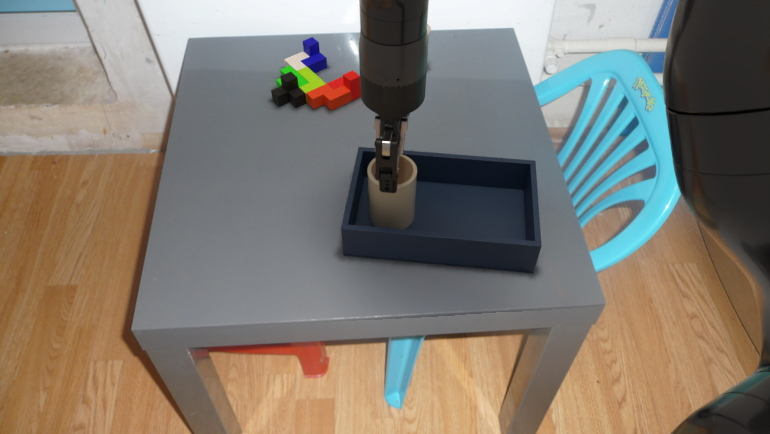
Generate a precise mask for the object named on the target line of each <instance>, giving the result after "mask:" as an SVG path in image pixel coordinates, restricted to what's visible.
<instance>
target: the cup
mask: <svg viewBox="0 0 770 434" xmlns="http://www.w3.org/2000/svg"><path fill="white" fill-rule="evenodd" d="M398 168H399V172H398V179H397V192H396V193H385V192H381V191H380V190H379V180H376V177H375V173H376V159H375V158H374V159H373V160H372V161H371V162H370V164H369V166H368V169H367V174H368V201H369V218H370V220H371V222H372V223H373V225H375V226H376V227H381V228H393V229H405V228H407V227H408V226H409V225H410V224H411V223H412V222H413V220H414V217H415V201H416V183H417V167H416V165H415V163H414V162H413V161H412V160H411V159H410V158H409V157H407V156H405V155H401V156H399V166H398Z"/></svg>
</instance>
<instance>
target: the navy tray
mask: <svg viewBox="0 0 770 434" xmlns="http://www.w3.org/2000/svg"><path fill="white" fill-rule="evenodd" d="M402 155H405V156H407V157H409V158H410V159H411V160H412V161H413V162H414V163H415V165H416V167H417V183H416V201H415V217H414V220H413V222H412V223H411V224H410V225H409V226H408V227H407V228H405V229H393V228H381V227H376V226H375V225H373V223H372V222H371V220H370V218H369V201H368V174H367V169H368V166H369V164H370V162H371V161H372V160H373V159H374V158H375V147H366V146H358V147H357V152H356V155H355V156H356V157H355V162H354V166H353V170H352V176H351V179H350V185H349V189H348V194H347V198H346V203H345V207H344V208H345V209H344V212H343V218H342V221H341V227H340V232H341V233H340V234H341V241H342V253H343V256H347V257H348V256H349V257H360V258H367V259H380V260H390V261H391V260H392V261H402V262H410V263H411V262H412V263H422V264H423V263H424V264H433V265H445V266H456V267H466V268H476V269H477V268H478V269H486V270H487V269H489V270H499V271H509V272H518V273H520V272H521V273H528V274H529V273H530V274H531V273H532V274H534V270H535V267H536V265H537V262H538V258H539V256H540V254H541V253H540V252H541V250H542V245H543V244H542V234H541V221H540V218H541V217H540V204H539V203H540V202H539V192H538V191H539V190H538V176H537V162H536V160H532V159H522V158H521V159H520V158H508V157H495V156H483V155H482V156H481V155H469V154H456V153H445V152H444V153H443V152H432V151H431V152H430V151H419V150H417V151H416V150H406V149H404V152H403V154H402Z"/></svg>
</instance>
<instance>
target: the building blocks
mask: <svg viewBox="0 0 770 434" xmlns="http://www.w3.org/2000/svg"><path fill="white" fill-rule="evenodd" d="M302 48H303V51H300V52H299V53H298V52H297V53H296V54H293V55H291V56H288V57H286V58H284V59H283V63H284V67H282V68H280V69H279V71H280V76H279V78H277V79H276V80H275V82H276V88H274V89H272V90H270V92H271V99H272V101H273V102H274V103H275V104H276V105H277V106H278V107H280V106H283V105H285V104H287V103H290V104H292V106H294V108H298V107H300V106H303V105H305V104H308V105H309V106H310V107H311V108H312V109H313V110H315V109H318V108H320V107H322V106H326V108H328V110H330V111H334V110H336V109H338V108H340V107H342V106H344V105H346V104H348V103H351V102H352V101H354V100H356V99H359V98H361V92H360V74H358V73H357V72H355V71H354V70H349V71H348V72H346V73H343V74H342V76H340V77H338V78H336V79H334V80H332V81H328V82H327V83H326V82H325V81H324V80H323V79H321V77H319V76H318V75H317V74H316V73H318V72H321V71H324V70H325V69H327V68H328V61H327V57H326V56H325V55H324V54H322V53H321V51H320V42H319V41H318V40H317V39H315V38H314V37H313V36H311V37H309V38H306V39H303V40H302Z"/></svg>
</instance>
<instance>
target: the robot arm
mask: <svg viewBox="0 0 770 434" xmlns="http://www.w3.org/2000/svg"><path fill="white" fill-rule="evenodd" d="M358 2H359V26H360V28H359V30H360V31H359V39H358V65H359V67H358V68H359V76H360V92H361V97H360V99H361V101H362V103H363V105H365V107H366V108H367V109H368V110H369V111H371V112H372V113H374V114H375V115H374V124H373V128H374V130H375V138H374V139H375V141H374V144H373V145H374V148H375V159H376V173H375V177H376V180H379V190H380V191H381V192H385V193H396V192H397V179H398V172H399V168H398V166H399V156H401V155H402V154H403V152H404V150H405V141H406V140H405V139H406V132H407V131H408V127H409V116H410V114H411V113H413V112H415V111H417V110H418V109H419V108H420V107H421V106H422V104H423V103H424V101H425V98H426V90H427V73H428V57H429V43H428V38H427V24H428V17H429V3H430V0H359V1H358ZM662 91H663V92H662V93H663V103H664V107H665V115H666V123H667V129H668V130H667V131H668V137H669V144H670V152H671V159H672V165H673V171H674V176H675V181H676V184H677V187H678V190H679V193H680V195H681V197H682V199H683V201H684V203H685V204H686V206H687V207H688V209H689V210H690V212H691V214H692V215H693V217H694V218H695V219H696V221H697V222H698V224H699V225H700V226H701V227H702V229H704V231H705V232H706V233H707V234H708V235H709V236H710V237H711V238H710V239H712V240H713V241H714V242H715V243H716V244H717V245H718V246H719V248H720V249H721V250H722V251H723V252H724V253H725V254H726V255H727V256H728V258H730V260H732V262H734V263H735V265H736V266H737V267H738V269H739V270H740V271H741V272H742V274H744V276H745V278H746V279H747V281H748V282H749V285H750V288H751V290H752V292H753V295H754V299H755V303H756V309H757V310H756V311H757V315H758V324H759V357H758V363H757V365H756V368H755V369H754V371H753V373H752V374H750V375H748V376H746V377H744V379H742V380H740V381H739V382H737V383H736V384H734V385H732V386H731V387H729V388H728V389H726V390H725V391H723V392H722V393H720V394H719V395H717V396H716V397H714V398H713V399H711V400H709V401H708V402H706V403H704V404H703V405H701V406H700V407H698V408H697V409H695V410H694V411H693V412H691V413H690V414H689V415H688V416H687V417H685V418H684V419H683V420H682V421H681V422H680V423H679V424H678V425H677V426H676V427H675V428H674V429H673V430H672V431H671V432H670V433H669V434H770V0H677V3H676V6H675V9H674V13H673V16H672V19H671V24H670V27H669V31H668V37H667V40H666V45H665V52H664V59H663V66H662Z"/></svg>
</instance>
